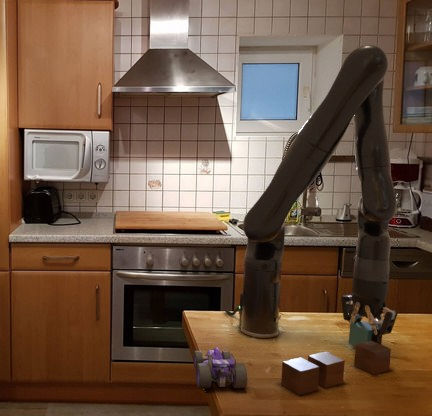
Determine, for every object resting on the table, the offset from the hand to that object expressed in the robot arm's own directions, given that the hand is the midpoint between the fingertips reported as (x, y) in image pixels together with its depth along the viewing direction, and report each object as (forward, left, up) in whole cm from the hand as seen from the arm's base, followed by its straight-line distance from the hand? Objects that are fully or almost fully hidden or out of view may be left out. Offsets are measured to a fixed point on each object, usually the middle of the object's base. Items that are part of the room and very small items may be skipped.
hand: (364, 343), depth 126 cm
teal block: (0, 0, 0) cm, 0 cm away
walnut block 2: (+8, -22, -1) cm, 24 cm away
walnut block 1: (+8, -29, -1) cm, 30 cm away
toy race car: (-3, -41, -1) cm, 41 cm away
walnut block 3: (+8, -8, -1) cm, 11 cm away
